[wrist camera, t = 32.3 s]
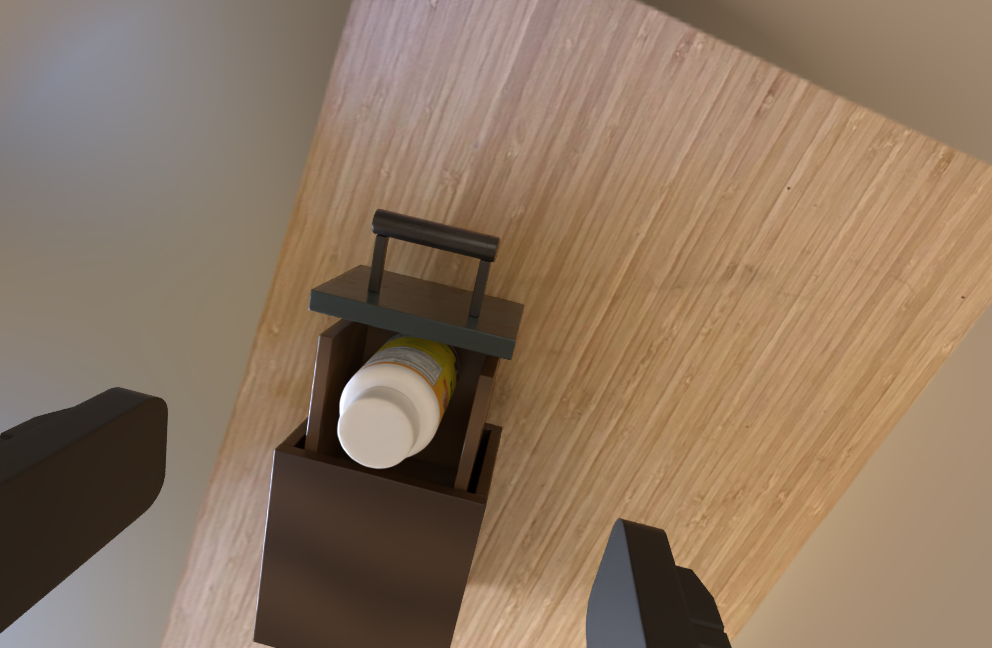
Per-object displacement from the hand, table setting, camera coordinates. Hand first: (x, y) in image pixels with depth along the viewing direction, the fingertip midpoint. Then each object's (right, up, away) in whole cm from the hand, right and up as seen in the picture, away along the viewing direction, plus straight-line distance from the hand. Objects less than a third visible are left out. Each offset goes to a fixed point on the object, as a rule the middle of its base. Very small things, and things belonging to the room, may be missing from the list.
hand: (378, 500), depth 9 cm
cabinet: (-5, -10, +33) cm, 35 cm away
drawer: (-3, +2, +28) cm, 28 cm away
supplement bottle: (-3, 0, +28) cm, 28 cm away
